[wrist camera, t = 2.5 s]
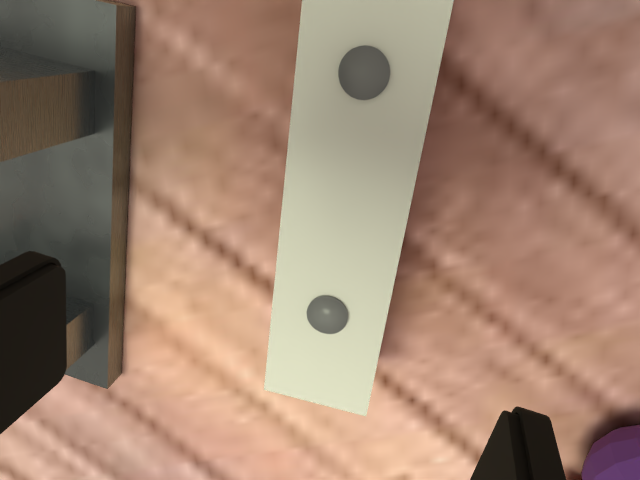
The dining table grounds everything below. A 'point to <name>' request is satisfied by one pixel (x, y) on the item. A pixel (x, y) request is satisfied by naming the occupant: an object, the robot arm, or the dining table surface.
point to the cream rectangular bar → (349, 189)
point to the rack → (70, 160)
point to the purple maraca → (614, 456)
